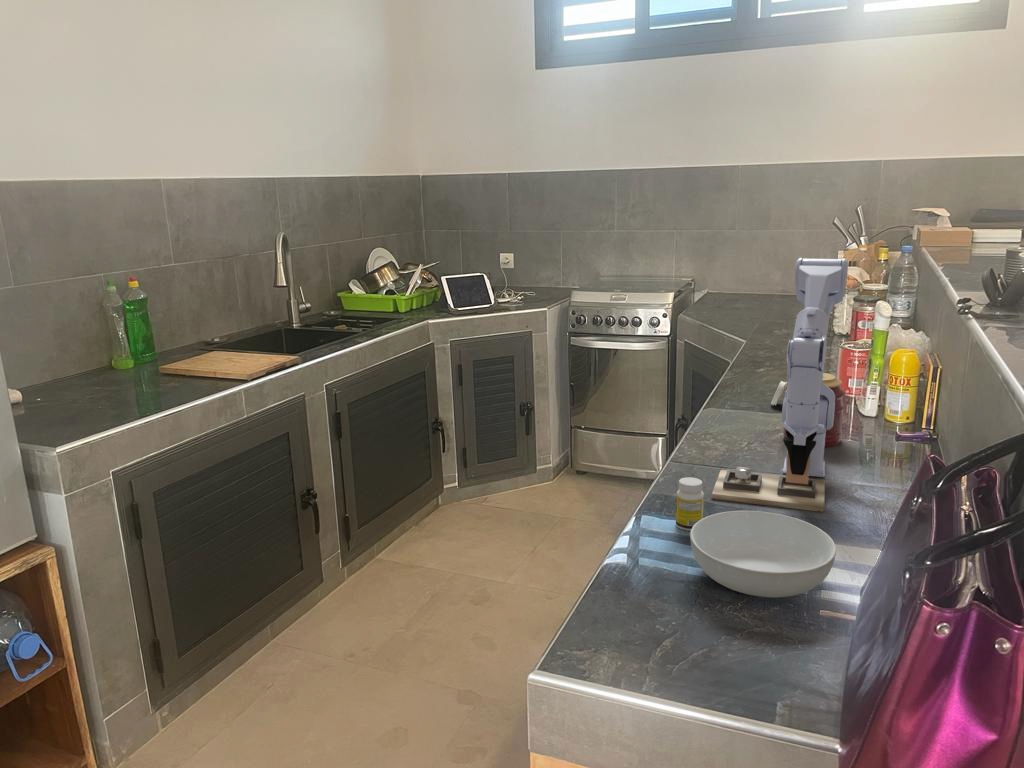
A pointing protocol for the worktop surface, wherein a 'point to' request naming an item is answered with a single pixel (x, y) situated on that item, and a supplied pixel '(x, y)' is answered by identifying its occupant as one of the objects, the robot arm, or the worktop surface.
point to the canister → (835, 432)
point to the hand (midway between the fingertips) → (798, 470)
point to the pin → (743, 475)
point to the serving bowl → (762, 552)
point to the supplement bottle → (689, 503)
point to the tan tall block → (797, 478)
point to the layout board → (771, 491)
